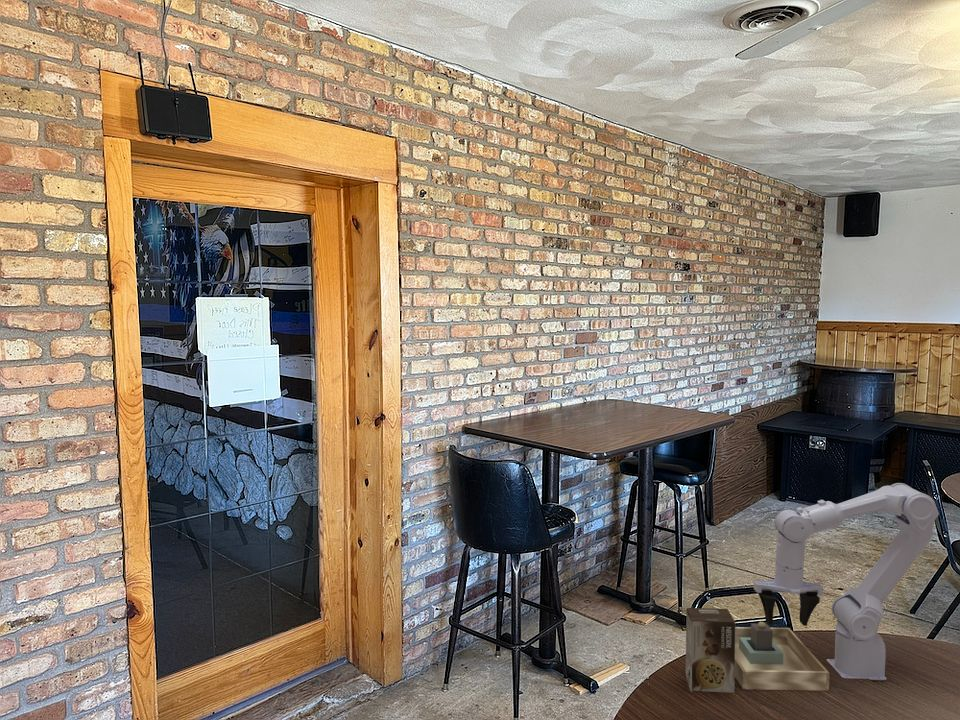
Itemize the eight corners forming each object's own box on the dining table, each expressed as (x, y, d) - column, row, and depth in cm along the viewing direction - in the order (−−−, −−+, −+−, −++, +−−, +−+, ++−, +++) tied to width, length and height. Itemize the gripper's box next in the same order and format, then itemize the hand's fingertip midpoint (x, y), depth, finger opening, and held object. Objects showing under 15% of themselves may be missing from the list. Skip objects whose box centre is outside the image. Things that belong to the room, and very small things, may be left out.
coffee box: (726, 679, 147) (728, 608, 146) (734, 695, 141) (737, 621, 139) (684, 676, 148) (685, 606, 147) (690, 693, 142) (692, 620, 140)
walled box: (788, 645, 161) (789, 627, 161) (828, 693, 141) (829, 672, 141) (713, 644, 162) (713, 626, 162) (742, 691, 142) (743, 671, 142)
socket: (770, 647, 159) (770, 637, 159) (783, 664, 152) (783, 653, 152) (738, 647, 160) (739, 637, 159) (750, 663, 152) (750, 653, 152)
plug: (765, 652, 157) (766, 619, 157) (771, 660, 154) (772, 626, 153) (750, 652, 157) (751, 619, 157) (755, 660, 154) (756, 626, 153)
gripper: (763, 570, 146) (760, 630, 147) (831, 573, 146) (827, 633, 147) (751, 558, 153) (748, 615, 154) (816, 560, 153) (812, 618, 154)
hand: (786, 623), depth 151 cm, fingers open, 7 cm apart
